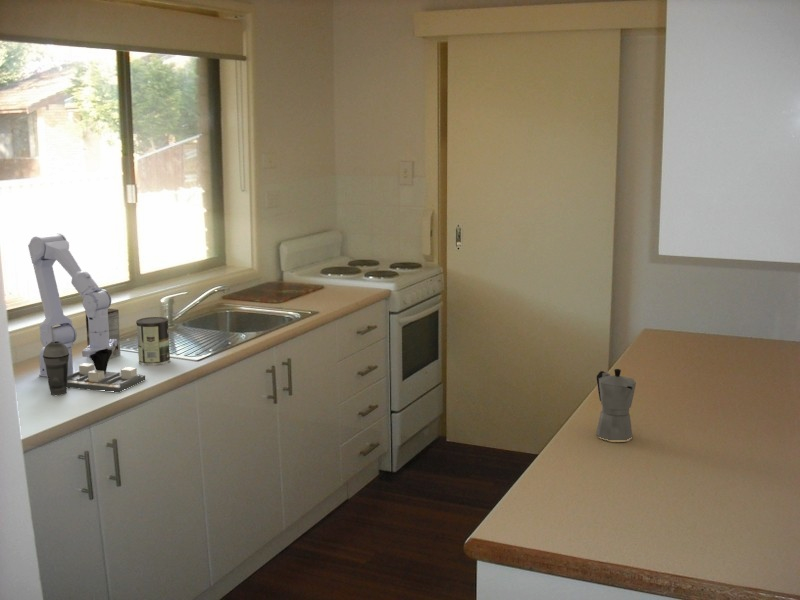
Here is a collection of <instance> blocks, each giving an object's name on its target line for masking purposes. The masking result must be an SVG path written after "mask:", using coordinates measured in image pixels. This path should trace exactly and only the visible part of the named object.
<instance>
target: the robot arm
mask: <svg viewBox="0 0 800 600" xmlns="http://www.w3.org/2000/svg"><path fill="white" fill-rule="evenodd" d="M28 251H29V256H30V259H31V264H33V266H32V267H33V270H34V275H35V279H36V282H37V286H38V291H39V295H40V299H41V304H42V308H43V312H44V316H45V319H44V320H43V321H42V322H41V324H40V325H39V331H40V332H39V339H40V343H41V344H42V346H43V347H41V349H40V350H39V355H38V358H39V359H38V360H39V373H38V376H39V377H46V378H48V377H47V371H46V365H45V362H44V358H43V352H44V349H45V347H46V346H47V345H48V344H49V343H51V342H53V341H52V334H51V326H52V328H53V335H54V341H58V342H61V343H63V344H64V345H65V346H66V347H67V349H68V352H69V360H68V375H70V374H72V373H75V372H77V371H79V369H78V370H77V369H74V366H73V365H74V362H73V350H72V349H73V348H72V346H74V343H75V342H76V340H77V329H76V328H75V326H74V324H73V321H72V319H71V317H68V316H67V315H65V314H64V310H63V306H62V302H61V297H60V294H59V289H58V284H57V281H56V276H55V272H54V268H53V266H54V265H55V262H58V263H59V264H60V265H61V267H62V268H63V269H64V270H65V271H66V272H67V274H68V276H70V277H71V284H72V286H73V287H74V289H75V290H76V292H77V294H79V295H80V297H81V298H82V299H83V300H82V302H81V303H82V307H83V308H84V311H86V312H85V316H86V315H87V317H88V325H89V341H90V345H89V346H88V345H87V347H85V348H84V349H82V350H81V353H82V355H81V356H82V357H85V358H88V357H89V358H90V359H91V361H92V364H94V365H95V370H100V371H104V374H106V372H107V368H108V365H109V364H108V363H109V361H110V359H109V358H110V356H111V354H112V350H108V349H110V348H112V347H113V346H117V340H114V339H110V340H109V326H108V309H107V308H109V309H110V307H111V305H112V297H111V295H110V293H109V291H108V290H106V289H103V288H102V287H99V286H98V284H97V283H96V282H95V280H94V279H93V278H92V275H91V274H90V273H89V272H87V271H83V270H82V269H81V267H80V266H79V263H78V262H77V261H76V260H75V258H74V256H73V255H72V254H73V253H71V251H70V242H69V241H68V240H67V238H66V236H65V235H64V234H62V233H56V234H50V235H48V234H47V235H41V236H33V237H32V238H31V239H30V241H29V243H28Z"/></svg>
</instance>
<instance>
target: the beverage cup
mask: <svg viewBox="0 0 800 600" xmlns="http://www.w3.org/2000/svg"><path fill="white" fill-rule="evenodd" d="M51 334H52V341H53V342H51V343H49V344H48V345H47V346H46V347H45V349H44V352H43V358H44V362H45V365H46V371H47V377H46V378H47V381H48V388H49V392H50V395H52V396H55V395H57V396H63V395H66V394H68V387H67V380H68V360H69V352H68V349H67V347H66V346H65V345H64V344H63V343H61V342H58V341H54V335H53V327H52V326H51Z"/></svg>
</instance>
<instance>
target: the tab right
mask: <svg viewBox="0 0 800 600" xmlns="http://www.w3.org/2000/svg"><path fill="white" fill-rule="evenodd" d="M120 373H121V379H130V378H132V377H134V376H137V375H138V372H137V367H130V366H129V367H128V366H125V367H124V368H122V369H120Z"/></svg>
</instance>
